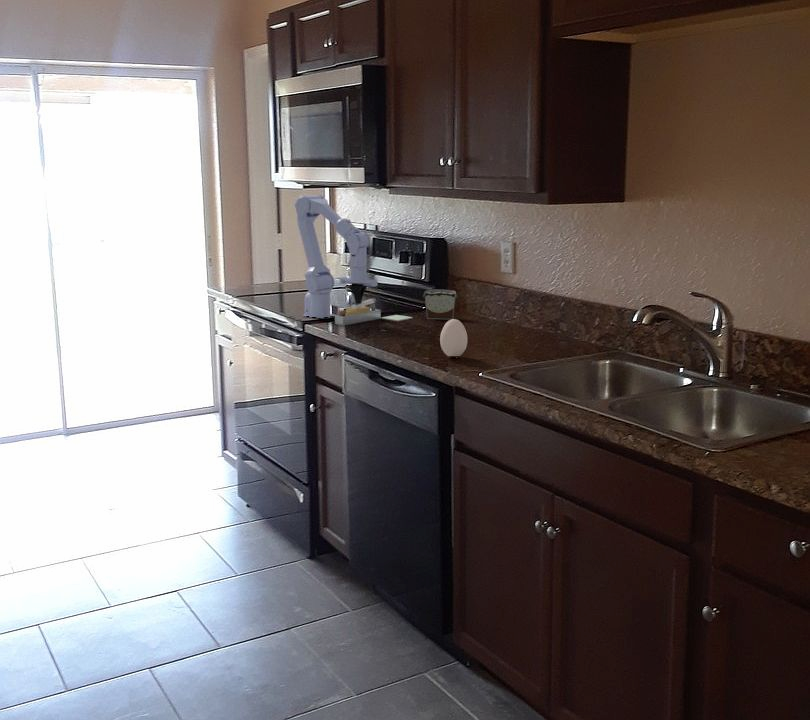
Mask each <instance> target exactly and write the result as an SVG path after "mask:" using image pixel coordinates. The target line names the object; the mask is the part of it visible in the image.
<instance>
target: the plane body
mask: <svg viewBox="0 0 810 720" xmlns="http://www.w3.org/2000/svg"><path fill="white" fill-rule="evenodd" d="M381 313H382V312H381V309H377V308H376V303H372V304H370V312H367V313H362V314H350V313H346V309H344V310H342V309H341V310H338V314H334V315H335V316H334V324H335V325H337V326H343V327H344V326H347V325H352V324H353V325H354V324H359V323H365V322H368V321H369V322H370V321H375V320H381V319H382V317H381V315H382V314H381Z"/></svg>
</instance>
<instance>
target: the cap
mask: <svg viewBox="0 0 810 720" xmlns="http://www.w3.org/2000/svg"><path fill="white" fill-rule="evenodd" d="M370 309H371V306H367V305H366V306H363V307H360V308H357V309H354V308H352V306H349V307H345V313H350V314H362V313H367V312H370Z"/></svg>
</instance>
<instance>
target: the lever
mask: <svg viewBox="0 0 810 720" xmlns="http://www.w3.org/2000/svg"><path fill="white" fill-rule="evenodd" d="M372 303H375V304H376V303H377V299H376V298H368V299H365V300H363V301H361V302H359V303H356V302H355V303H354V304H351V307H352V308H354V309H357V308H360V307H363V306H366V307H367V306H368V305H369V306H370V305H371V304H372Z"/></svg>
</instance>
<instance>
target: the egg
mask: <svg viewBox="0 0 810 720" xmlns="http://www.w3.org/2000/svg"><path fill="white" fill-rule="evenodd" d="M439 341H440V342H439V343H440V348H441V350H442V351H443V353H444V354H445V355H446V356H447V357H449V356H459V357H460V356H461V355H462V354H464V352H465V351H466V349H467V347H468V346H467V345H468V333H467V331H466V328H465V326H464V324H463V323H462V322H461V321H460V320H459V319H455V318H453V319H448V321H447V322H445V324H444V326H443V327H442V330H441V332H440V337H439Z"/></svg>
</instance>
